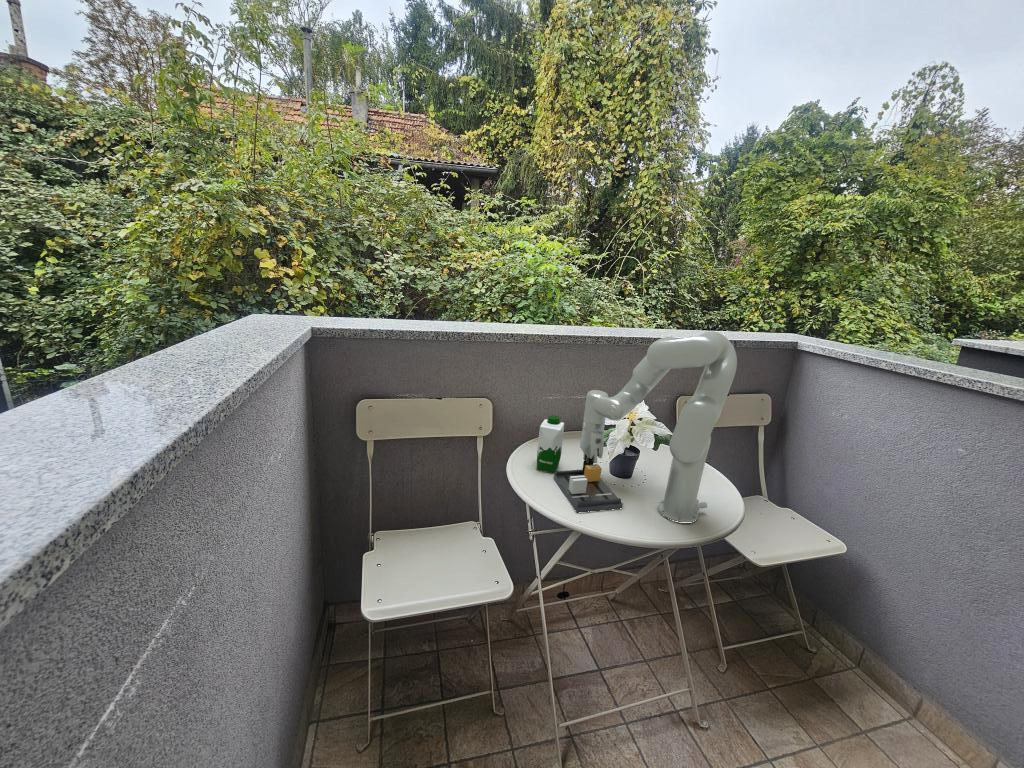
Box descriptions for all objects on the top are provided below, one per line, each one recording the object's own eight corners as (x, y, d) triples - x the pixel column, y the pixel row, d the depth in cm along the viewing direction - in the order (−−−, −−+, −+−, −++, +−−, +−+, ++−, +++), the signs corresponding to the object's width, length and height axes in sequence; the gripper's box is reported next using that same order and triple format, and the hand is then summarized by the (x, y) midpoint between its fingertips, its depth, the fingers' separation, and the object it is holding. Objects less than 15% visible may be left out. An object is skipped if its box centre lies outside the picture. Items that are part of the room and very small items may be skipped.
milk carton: (561, 465, 171) (566, 417, 165) (556, 475, 163) (562, 425, 157) (539, 460, 174) (544, 413, 168) (533, 470, 166) (538, 421, 160)
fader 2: (596, 476, 160) (598, 463, 158) (599, 480, 157) (601, 467, 156) (583, 477, 159) (585, 464, 157) (586, 481, 156) (588, 468, 154)
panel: (593, 475, 165) (594, 467, 164) (622, 508, 145) (623, 500, 144) (553, 478, 161) (554, 470, 160) (577, 513, 141) (578, 504, 140)
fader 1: (582, 488, 151) (583, 474, 150) (585, 493, 149) (587, 479, 147) (568, 489, 150) (570, 475, 149) (571, 494, 147) (573, 480, 146)
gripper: (612, 433, 150) (605, 481, 155) (594, 416, 164) (588, 461, 169) (592, 434, 148) (586, 482, 153) (575, 417, 162) (570, 462, 167)
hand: (587, 471), depth 161 cm, fingers closed
